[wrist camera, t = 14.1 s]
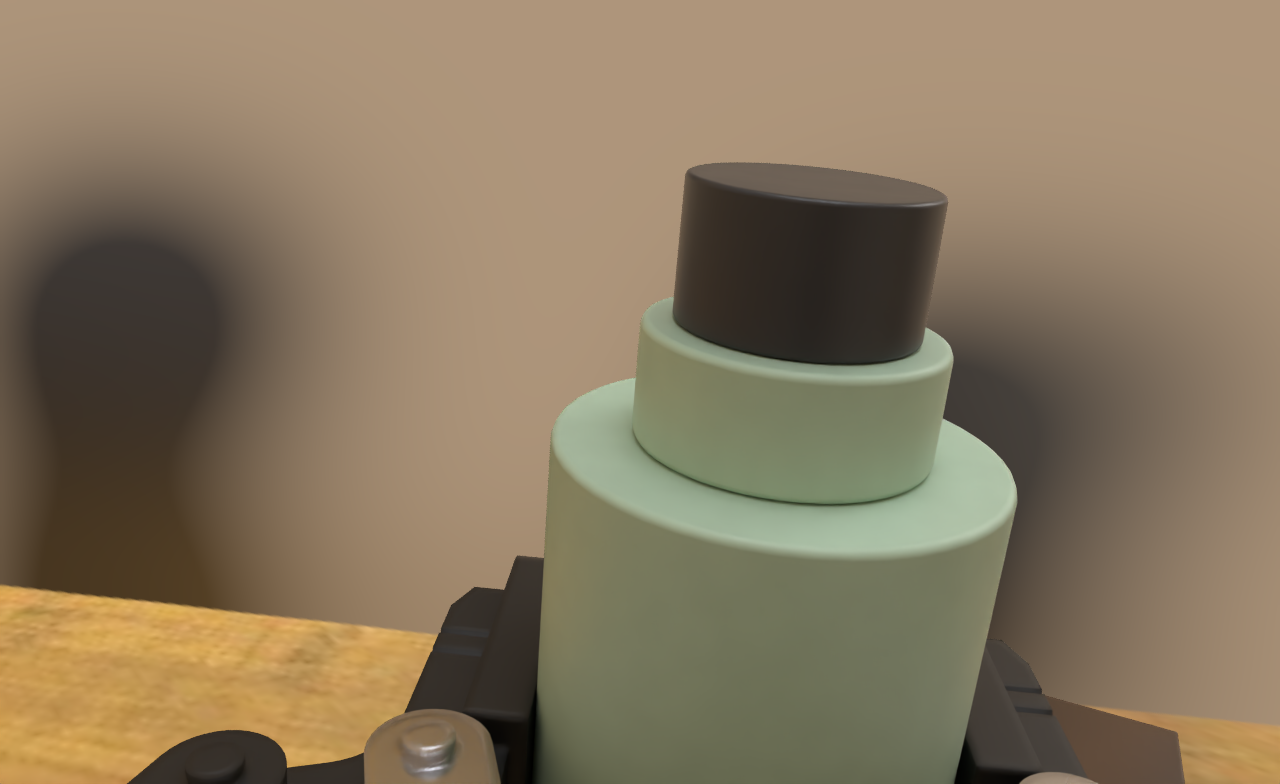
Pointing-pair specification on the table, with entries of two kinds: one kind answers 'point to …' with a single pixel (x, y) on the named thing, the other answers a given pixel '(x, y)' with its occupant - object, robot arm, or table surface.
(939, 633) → the bottle
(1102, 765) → the stand
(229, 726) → the table surface
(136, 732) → the table surface
